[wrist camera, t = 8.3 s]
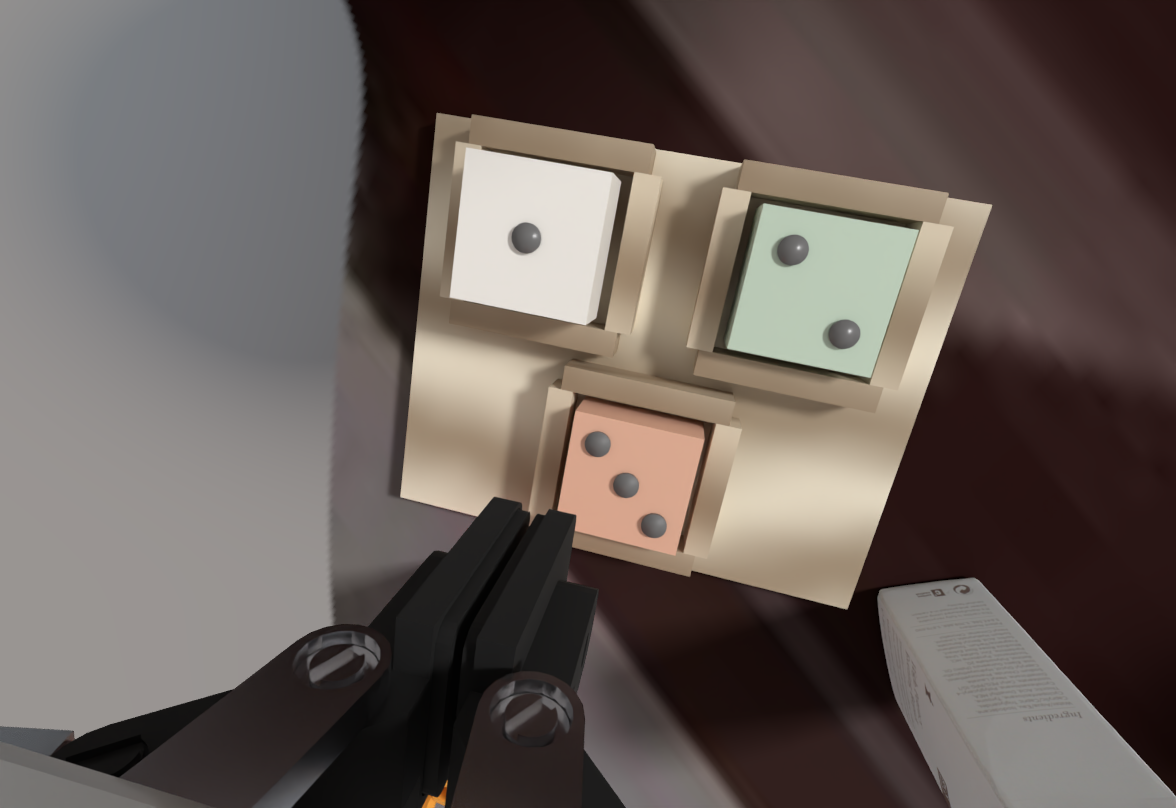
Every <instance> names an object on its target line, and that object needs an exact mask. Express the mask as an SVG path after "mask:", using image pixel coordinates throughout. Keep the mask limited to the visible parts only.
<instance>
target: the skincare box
mask: <svg viewBox="0 0 1176 808" xmlns="http://www.w3.org/2000/svg"><path fill="white" fill-rule="evenodd" d="M877 600H878V611H879V619H880V627H881V634H882V640H883V646H884V651H885V656H886V661H887V666H888V671H889V676H890V680H891V684H892V688H893V692H894V695H895V698H896V701H897V703H898V705H899V707H900V709H901V711H902V713H903V715H904V717H905V719H906V721H907V723H908V725H909V727H910V729H911V731H912V733H913V735H914V737H915V739H916V741H917V743H918V745H919V747H920V749H921V751H922V753H923V755H924V757H925V759H926V761H927V763H928V765H929V767H930V769H931V771H932V773H933V775H934V777H935V779H936V781H937V783H938V785H939V787H940V789H941V791H942V793H943V795H944V798H945V800H946V802H947V804H948V806H949V808H1176V796H1175V795H1174V794H1173V793H1172V791H1171V790H1170V789H1169V788H1168V787H1167V786H1166V785H1165V784H1164V783H1163V782H1162V781H1161V779H1160V778H1159V777H1158V776H1157V775H1156V774H1155V773H1154V772H1153V771H1152V770H1151V769H1150V768H1149V766H1148V765H1147V764H1146V763H1145V762H1144V761H1143V760H1142V759H1141V758H1140V757H1139V756H1138V754H1137V753H1136V752H1135V751H1134V750H1133V749H1132V748H1131V747H1130V746H1129V745H1128V744H1127V743H1126V742H1125V740H1124V739H1123V738H1122V737H1121V736H1120V735H1119V734H1118V733H1117V732H1116V730H1115V729H1114V728H1113V727H1112V726H1111V725H1110V724H1109V723H1108V722H1107V721H1106V720H1105V719H1104V718H1103V716H1102V715H1101V714H1100V713H1099V712H1098V711H1097V710H1096V709H1095V708H1094V707H1093V706H1092V705H1091V703H1090V702H1089V701H1088V700H1087V699H1086V698H1085V697H1084V696H1083V694H1082V693H1081V692H1080V691H1079V690H1078V689H1077V688H1076V687H1075V686H1074V685H1073V684H1072V682H1071V681H1070V680H1069V679H1068V678H1067V677H1066V676H1065V675H1064V674H1063V673H1062V672H1061V670H1060V669H1059V668H1058V667H1057V666H1056V665H1055V664H1054V663H1053V662H1052V660H1051V659H1050V658H1049V657H1048V656H1047V655H1046V654H1045V653H1044V652H1043V650H1042V649H1041V648H1040V647H1039V646H1038V645H1037V644H1036V643H1035V642H1034V641H1033V640H1032V638H1031V637H1030V636H1029V635H1028V634H1027V633H1026V632H1025V631H1024V630H1023V628H1022V627H1021V626H1020V625H1019V624H1018V623H1017V622H1016V621H1015V620H1014V619H1013V617H1012V616H1011V615H1010V614H1009V613H1008V612H1007V611H1006V610H1005V609H1004V608H1003V607H1002V606H1001V604H1000V603H999V602H998V601H997V600H996V599H995V598H994V597H993V596H992V595H991V593H990V592H989V591H988V590H987V589H986V588H985V587H984V586H983V585H982V584H981V583H980V582H979V581H978V580H977V579H975V578H966V579H955V580H944V581H936V582H929V583H921V584H914V585H905V586H898V587H892V588H885V589H881V590H880V591H879V594H878V597H877Z"/></svg>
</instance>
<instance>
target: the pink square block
mask: <svg viewBox="0 0 1176 808" xmlns="http://www.w3.org/2000/svg"><path fill="white" fill-rule="evenodd" d="M704 440H705V439H704V426H703V422H702V421H697V420H693V419H688V418H684V417H679V416H674V415H670V414H665V413H661V412H656V411H652V410H647V409H643V408H638V407H634V406H629V405H625V404H620V403H615V402H611V401H606V400H602V399H597V398H593V397H588V396H586V397H585V398H584V400H583V401H582V403H581V404H580V405H579V407H578V408H577V409H576V411H575V416H574V422H573V427H572V433H571V438H570V444H569V449H568V455H567V461H566V466H565V472H564V477H563V483H562V488H561V494H560V499H559V505H558V510H557V511H561V512H566V513H570V514H575V515H576V526H575V531H578V532H582V533H586V534H590V535H594V536H598V537H602V538H606V539H610V540H614V541H618V542H622V543H626V544H630V545H634V546H638V547H642V548H646V549H650V550H654V551H658V552H662V553H666V554H670V555H674V556H675V555H676V551H677V547H678V543H679V539H680V535H681V531H682V527H683V524H684V520H685V516H686V512H687V508H688V504H689V500H690V496H691V492H692V488H693V484H694V480H695V476H696V472H697V468H698V464H699V460H700V456H701V452H702V448H703V444H704Z"/></svg>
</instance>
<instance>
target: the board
mask: <svg viewBox="0 0 1176 808" xmlns="http://www.w3.org/2000/svg"><path fill="white" fill-rule="evenodd" d="M466 147H467V148H473V149H479V150H485V151H490V152H496V153H502V154H508V155H514V156H519V157H525V158H531V159H537V160H543V161H548V162H554V163H560V164H566V165H572V166H577V167H583V168H589V169H595V170H601V171H606V172H612V173H614V174H615V175H616V177H617V178H618V179H619V180H620V181H621V186H620V192H619V197H618V203H617V208H616V214H615V219H614V225H613V230H612V236H611V241H610V246H609V252H608V257H607V263H606V268H605V274H604V279H603V285H602V290H601V296H600V301H599V307H598V312H597V318H596V319H594V320H593V321H591V322H590V323H588V324H587V325H582V324H577V323H572V322H567V321H562V320H558V319H553V318H548V317H543V316H538V315H533V314H528V313H523V312H519V311H514V310H509V309H504V308H499V307H494V306H489V305H485V304H480V303H475V302H470V301H465V300H460V299H455V298H451V297H450V290H451V280H452V271H453V262H454V253H455V244H456V235H457V226H458V217H459V207H460V198H461V189H462V180H463V171H464V162H465V153H466ZM948 195H949V193H945V192H939V191H933V190H927V189H921V188H915V187H909V186H903V185H897V184H891V183H885V182H879V181H872V180H866V179H860V178H854V177H848V176H842V175H836V174H830V173H824V172H818V171H812V170H806V169H800V168H794V167H788V166H782V165H776V164H769V163H763V162H757V161H751V160H745V159H744V161H743V163H736V162H730V161H724V160H718V159H712V158H706V157H700V156H694V155H688V154H682V153H675V152H669V151H663V150H657V149H655V146H654V144H648V143H642V142H636V141H630V140H624V139H618V138H612V137H606V136H600V135H594V134H588V133H582V132H576V131H570V130H564V129H557V128H551V127H545V126H539V125H533V124H527V123H521V122H515V121H509V120H503V119H497V118H491V117H485V116H479V115H473V114H472V117H471V118H465V117H459V116H453V115H447V114H441V113H437V116H436V127H435V137H434V148H433V158H432V169H431V179H430V190H429V201H428V211H427V222H426V232H425V243H424V253H423V264H422V275H421V285H420V296H419V306H418V317H417V327H416V338H415V348H414V359H413V370H412V380H411V391H410V401H409V412H408V422H407V433H406V444H405V454H404V465H403V475H402V486H401V496H400V497H402V498H406V499H410V500H414V501H418V502H422V503H426V504H430V505H434V506H438V507H442V508H446V509H450V510H454V511H458V512H462V513H466V514H470V515H474V516H477V517H478V515H479V514H480V513H481V512H482V511H483V509H484V508H485V507H486V506H487V504H488V503H489V502H490V501H491V499H492V498H493V497H499V498H503V499H508V500H512V501H517V502H521V503H522V510H524V511H528V512H530V523H529V526H530V524H531V523H532V521H533V519H534V518H535V516H536V515H537V514H542V515H546V513H547V511H548V510H549V509H553V510H558V505H559V499H560V494H561V488H562V483H563V477H564V472H565V466H566V461H567V455H568V449H569V444H570V438H571V433H572V427H573V422H574V416H575V411H576V409H577V408H578V407H579V405H580V404H581V403H582V401H583V400H584V398H585V397H586V396H588V397H593V398H597V399H602V400H606V401H611V402H615V403H620V404H625V405H629V406H634V407H638V408H643V409H647V410H652V411H656V412H661V413H665V414H670V415H674V416H679V417H684V418H688V419H693V420H697V421H702V422H703V426H704V439H705V440H704V444H703V448H702V452H701V456H700V460H699V464H698V468H697V472H696V476H695V480H694V484H693V488H692V492H691V496H690V500H689V504H688V508H687V512H686V516H685V520H684V524H683V527H682V531H681V535H680V539H679V543H678V547H677V551H676V555H675V556H674V555H670V554H666V553H662V552H658V551H654V550H650V549H646V548H642V547H638V546H634V545H630V544H626V543H622V542H618V541H614V540H610V539H606V538H602V537H598V536H594V535H590V534H586V533H582V532H578V531H575V532H574V538H573V544H572V547H574V548H578V549H582V550H586V551H590V552H594V553H598V554H602V555H606V556H610V557H614V558H618V559H622V560H626V561H630V562H633V563H637V564H641V565H645V566H649V567H653V568H657V569H661V570H665V571H669V572H673V573H677V574H681V575H685V576H689V577H690V574H691V570H692V571H696V572H700V573H704V574H708V575H712V576H716V577H720V578H724V579H728V580H732V581H736V582H740V583H744V584H748V585H752V586H756V587H760V588H764V589H768V590H772V591H776V592H780V593H784V594H788V595H792V596H796V597H800V598H804V599H808V600H811V601H815V602H819V603H823V604H827V605H831V606H835V607H839V608H843V609H848V606H849V603H850V601H851V598H852V595H853V592H854V589H855V587H856V584H857V581H858V578H859V575H860V573H861V570H862V567H863V564H864V562H865V559H866V556H867V553H868V550H869V548H870V545H871V542H872V539H873V536H874V534H875V531H876V528H877V525H878V522H879V520H880V517H881V514H882V511H883V509H884V506H885V503H886V500H887V497H888V495H889V492H890V489H891V486H892V483H893V481H894V478H895V475H896V472H897V469H898V467H899V464H900V461H901V458H902V455H903V453H904V450H905V447H906V444H907V442H908V439H909V436H910V433H911V430H912V428H913V425H914V422H915V419H916V416H917V414H918V411H919V408H920V405H921V402H922V400H923V397H924V394H925V391H926V389H927V386H928V383H929V380H930V377H931V375H932V372H933V369H934V366H935V363H936V361H937V358H938V355H939V352H940V349H941V347H942V344H943V341H944V338H945V335H946V333H947V330H948V327H949V324H950V322H951V319H952V316H953V313H954V310H955V308H956V305H957V302H958V299H959V296H960V294H961V291H962V288H963V285H964V282H965V280H966V277H967V274H968V271H969V269H970V266H971V263H972V260H973V257H974V255H975V252H976V249H977V246H978V243H979V241H980V238H981V235H982V232H983V229H984V227H985V224H986V221H987V218H988V216H989V213H990V210H991V207H992V205H989V204H983V203H977V202H971V201H965V200H959V199H953V198H948ZM764 203H765V204H771V205H776V206H782V207H788V208H794V209H799V210H805V211H811V212H817V213H822V214H828V215H834V216H840V217H846V218H851V219H857V220H863V221H869V222H874V223H880V224H886V225H892V226H897V227H903V228H909V229H915V230H919V232H918V235H917V238H916V241H915V244H914V247H913V250H912V253H911V256H910V259H909V262H908V265H907V268H906V271H905V274H904V278H903V281H902V284H901V287H900V290H899V293H898V296H897V299H896V302H895V305H894V308H893V311H892V314H891V317H890V320H889V323H888V326H887V329H886V332H885V335H884V338H883V342H882V345H881V348H880V351H879V354H878V357H877V360H876V363H875V366H874V369H873V372H872V375H871V378H868V377H864V376H859V375H854V374H849V373H844V372H839V371H834V370H829V369H824V368H820V367H815V366H810V365H805V364H800V363H795V362H790V361H785V360H780V359H775V358H771V357H766V356H761V355H756V354H751V353H746V352H741V351H736V350H731V349H727V347H726V344H725V342H724V335H725V331H726V327H727V323H728V319H729V315H730V311H731V307H732V303H733V299H734V295H735V291H736V287H737V283H738V279H739V275H740V271H741V267H742V263H743V259H744V255H745V251H746V247H747V243H748V239H749V234H750V230H751V226H752V222H753V218H754V214H755V210H756V208H758V207H759V206H761V205H762V204H764Z"/></svg>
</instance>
